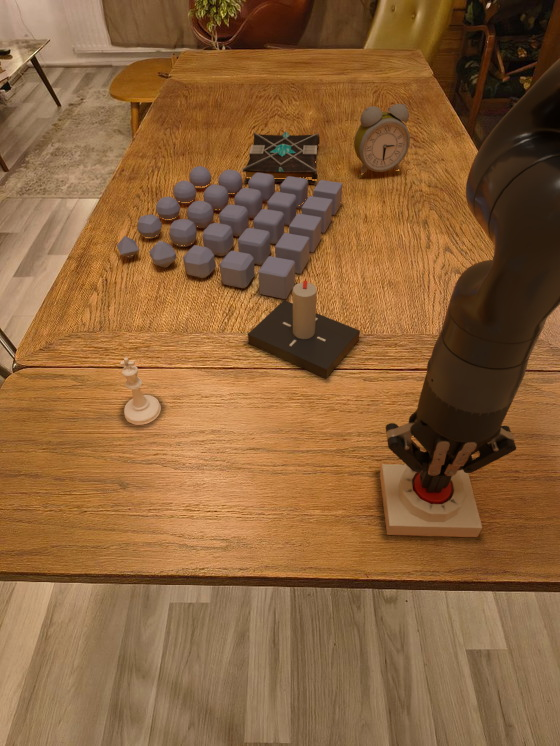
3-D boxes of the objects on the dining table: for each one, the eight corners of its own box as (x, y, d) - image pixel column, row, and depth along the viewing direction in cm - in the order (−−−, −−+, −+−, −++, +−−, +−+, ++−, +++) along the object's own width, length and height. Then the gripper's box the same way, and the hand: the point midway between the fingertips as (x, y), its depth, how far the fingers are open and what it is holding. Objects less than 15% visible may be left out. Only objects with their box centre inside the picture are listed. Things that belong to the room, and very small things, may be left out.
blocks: (286, 300, 87) (285, 276, 84) (112, 263, 96) (105, 240, 92) (341, 204, 110) (342, 182, 106) (196, 182, 119) (193, 160, 115)
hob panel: (358, 340, 80) (360, 329, 78) (326, 379, 74) (326, 368, 73) (284, 309, 86) (284, 299, 84) (248, 343, 80) (247, 333, 78)
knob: (314, 339, 77) (316, 295, 71) (292, 338, 77) (291, 294, 71) (315, 325, 80) (317, 280, 74) (293, 324, 80) (293, 280, 74)
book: (317, 186, 116) (317, 164, 113) (243, 184, 117) (241, 163, 114) (319, 147, 131) (320, 126, 128) (253, 146, 132) (252, 125, 129)
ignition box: (462, 475, 63) (470, 456, 60) (477, 537, 57) (487, 519, 54) (379, 474, 63) (383, 455, 60) (386, 535, 57) (391, 517, 55)
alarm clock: (357, 182, 117) (363, 112, 107) (348, 169, 122) (353, 101, 111) (405, 176, 119) (416, 107, 108) (395, 164, 124) (404, 96, 113)
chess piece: (129, 397, 72) (111, 345, 65) (164, 397, 72) (149, 345, 65) (120, 424, 69) (100, 372, 62) (157, 425, 69) (141, 373, 62)
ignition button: (444, 478, 60) (447, 470, 58) (451, 509, 57) (454, 501, 56) (409, 478, 60) (412, 469, 59) (414, 509, 57) (417, 500, 56)
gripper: (400, 409, 42) (375, 514, 55) (564, 412, 42) (501, 518, 54) (389, 347, 47) (369, 456, 60) (535, 349, 47) (484, 458, 59)
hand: (432, 485), depth 57 cm, fingers closed
